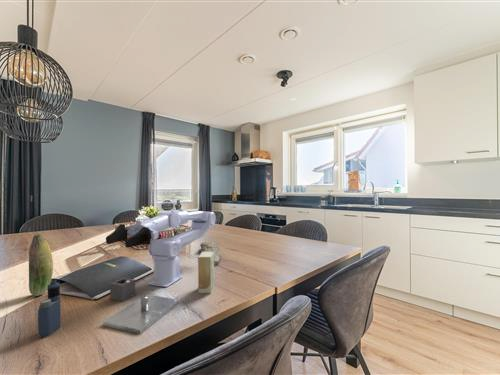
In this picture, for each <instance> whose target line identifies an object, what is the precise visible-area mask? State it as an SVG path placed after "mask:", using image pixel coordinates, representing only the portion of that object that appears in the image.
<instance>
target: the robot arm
mask: <svg viewBox="0 0 500 375" xmlns="http://www.w3.org/2000/svg"><path fill="white" fill-rule="evenodd" d="M189 221H191V226H190V229H188V230H186V231H183V232H180V233H178V234H176V235H173V236H170V237H164V238H160V239H158V238H159V233H161V232H164V231H165V230H168V229H169V228H175V229H176V228H177V227H178V226H181V225H185V224H188V222H189ZM216 221H217V216H216V214H215V212H214V211H206V210H205V211H202V210H193V211H187V210H184V209H183V208H178V210H174V209H173V210H172V209H171V210H170V211H160V212H159V213H158V214H157V215H156V216H154V217H152V218H149V219H146V220H140V219H137V220H135V223H133V224H131V225H128V226H127V225H126V224H122V223H121V224H119V225H118V226H117V228H115V230H114V231H112V232H111V233H110V234H108V235H107V236H106V237H105V243H106V245H110V244H111V245H112V244H115V243H119V242H124V244H125V245H124V246H125V248H133V247H136V246H148V253H149V255H150V256H151V259H152V260H153V280H152V281H150V282H148V286H156V287H163V288H168V287H170V286H171V285H173V284H174V283H176V282H177V281H180V279H182V278H183V276H181V262H180V258H179V257H178V255H179V254H180V253H181V252H182V248H183V247H184V246H187V245H188V244H191V243H193V242H194V241H197V240H199V239H201V238H203V237H204V236H205V234H207V232H208V231H209V230H210V229H212V228H214V227H215V224H216ZM128 236H129V237H128Z"/></svg>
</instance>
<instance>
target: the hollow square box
mask: <svg viewBox="0 0 500 375" xmlns="http://www.w3.org/2000/svg"><path fill="white" fill-rule="evenodd" d="M109 294H110V295H109V296H110V298H109V300H112V301H117V302H124V301H126V300H129V299H130V298H132V297H133V296H136V279H134V278H127V277H122V278H119V279H117V280H115V281H113V282H110V283H109Z"/></svg>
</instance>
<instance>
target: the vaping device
mask: <svg viewBox="0 0 500 375" xmlns="http://www.w3.org/2000/svg"><path fill="white" fill-rule="evenodd" d="M60 285H61V284H60V282H57V279H53V280H52V279H51V282H50V284H49V285H48V289H47V298H46V299H43V300H41V301H40V304H39V306H38V310H37V332H38V336H39V338H47V337H50V336H51V335H52V334H53V333H55V332H56V331H57V330H59V329H60V328H61V326H62V322H61V319H62V318H61V316H62V315H61V294H60V293H61V290H60V288H61V286H60Z"/></svg>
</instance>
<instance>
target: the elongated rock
mask: <svg viewBox="0 0 500 375" xmlns="http://www.w3.org/2000/svg"><path fill="white" fill-rule="evenodd" d="M199 246H200V249H201V253H202V252H214V267H216V266H219V265H220V262H221V258H222V256H221V252H220V247H219V246H218V245H217V244H216V243H214V242H207V241H205V242H202V243H200V244H199Z"/></svg>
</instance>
